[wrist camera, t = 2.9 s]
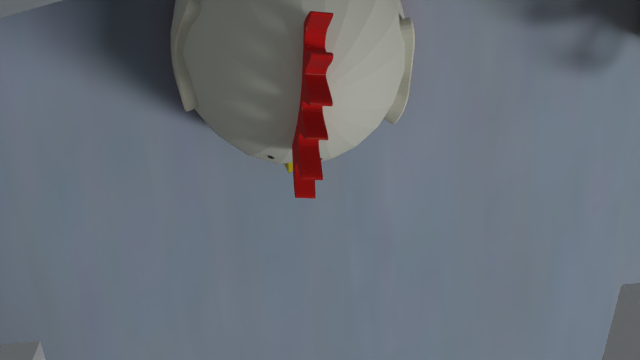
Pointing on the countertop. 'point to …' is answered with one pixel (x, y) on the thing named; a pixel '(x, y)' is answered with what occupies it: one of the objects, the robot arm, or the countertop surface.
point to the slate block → (21, 6)
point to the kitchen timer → (293, 74)
